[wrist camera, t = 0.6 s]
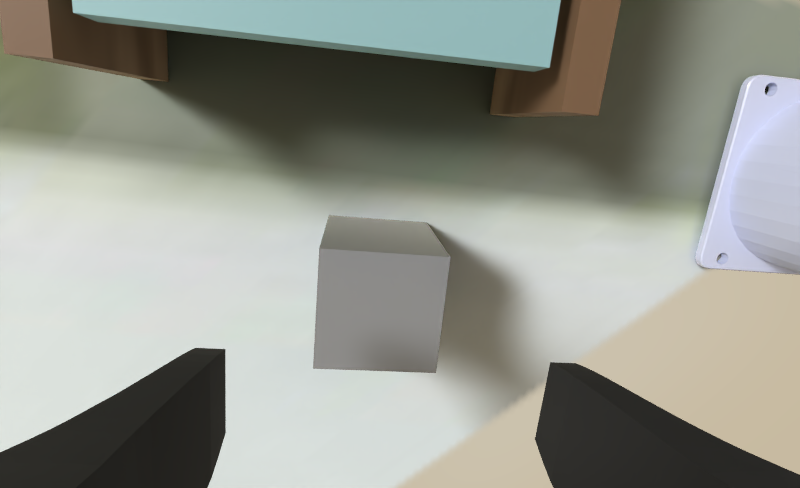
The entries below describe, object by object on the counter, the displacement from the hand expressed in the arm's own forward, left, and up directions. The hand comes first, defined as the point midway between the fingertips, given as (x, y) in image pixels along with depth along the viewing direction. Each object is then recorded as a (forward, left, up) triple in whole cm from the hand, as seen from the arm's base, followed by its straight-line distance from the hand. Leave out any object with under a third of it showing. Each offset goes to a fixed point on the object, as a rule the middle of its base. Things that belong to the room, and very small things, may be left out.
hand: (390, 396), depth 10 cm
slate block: (0, 0, -10) cm, 10 cm away
